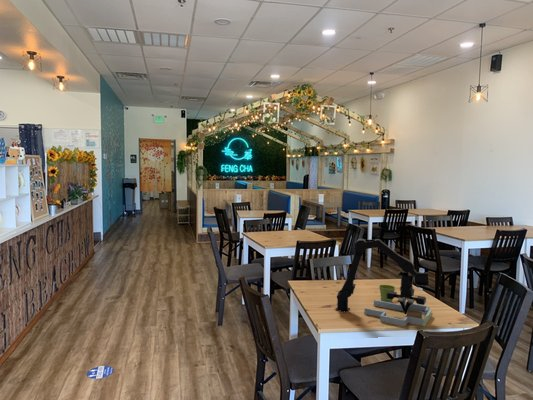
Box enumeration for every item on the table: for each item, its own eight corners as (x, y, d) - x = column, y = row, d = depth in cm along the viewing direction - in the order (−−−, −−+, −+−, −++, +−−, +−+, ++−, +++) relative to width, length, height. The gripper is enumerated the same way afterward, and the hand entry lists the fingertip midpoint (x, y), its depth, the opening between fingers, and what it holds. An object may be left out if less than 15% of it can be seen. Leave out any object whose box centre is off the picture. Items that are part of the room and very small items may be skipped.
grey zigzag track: (422, 330, 186) (422, 324, 186) (360, 317, 202) (360, 311, 202) (433, 312, 211) (433, 307, 210) (377, 302, 227) (377, 297, 226)
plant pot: (380, 297, 235) (381, 283, 234) (396, 300, 230) (397, 286, 229) (376, 302, 227) (376, 287, 226) (393, 305, 222) (393, 290, 221)
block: (418, 322, 197) (419, 314, 197) (406, 319, 200) (406, 312, 200) (421, 319, 202) (422, 311, 202) (409, 316, 205) (410, 308, 205)
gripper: (428, 283, 205) (427, 313, 206) (392, 278, 215) (391, 306, 216) (424, 288, 196) (423, 319, 197) (386, 282, 206) (385, 312, 207)
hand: (405, 314), depth 204 cm, fingers closed
